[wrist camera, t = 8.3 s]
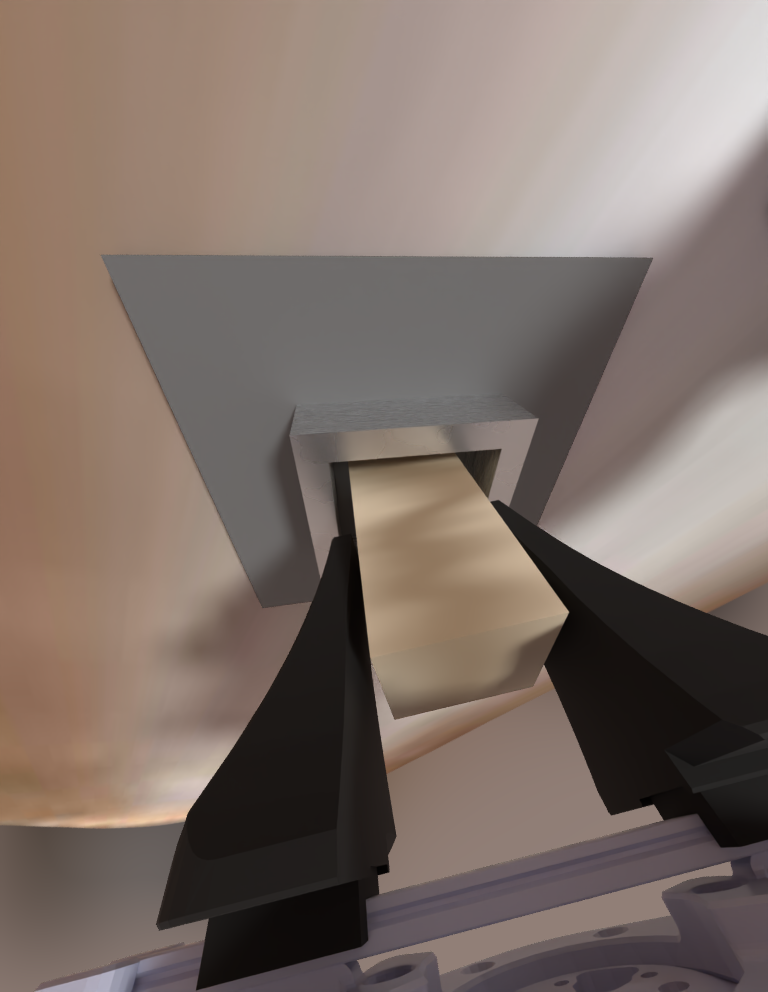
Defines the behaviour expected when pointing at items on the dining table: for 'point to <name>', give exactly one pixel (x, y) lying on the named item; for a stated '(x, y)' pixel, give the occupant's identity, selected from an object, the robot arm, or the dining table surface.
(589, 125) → the dining table surface
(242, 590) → the dining table surface
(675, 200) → the dining table surface
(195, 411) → the mat
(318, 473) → the socket
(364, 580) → the beige block
